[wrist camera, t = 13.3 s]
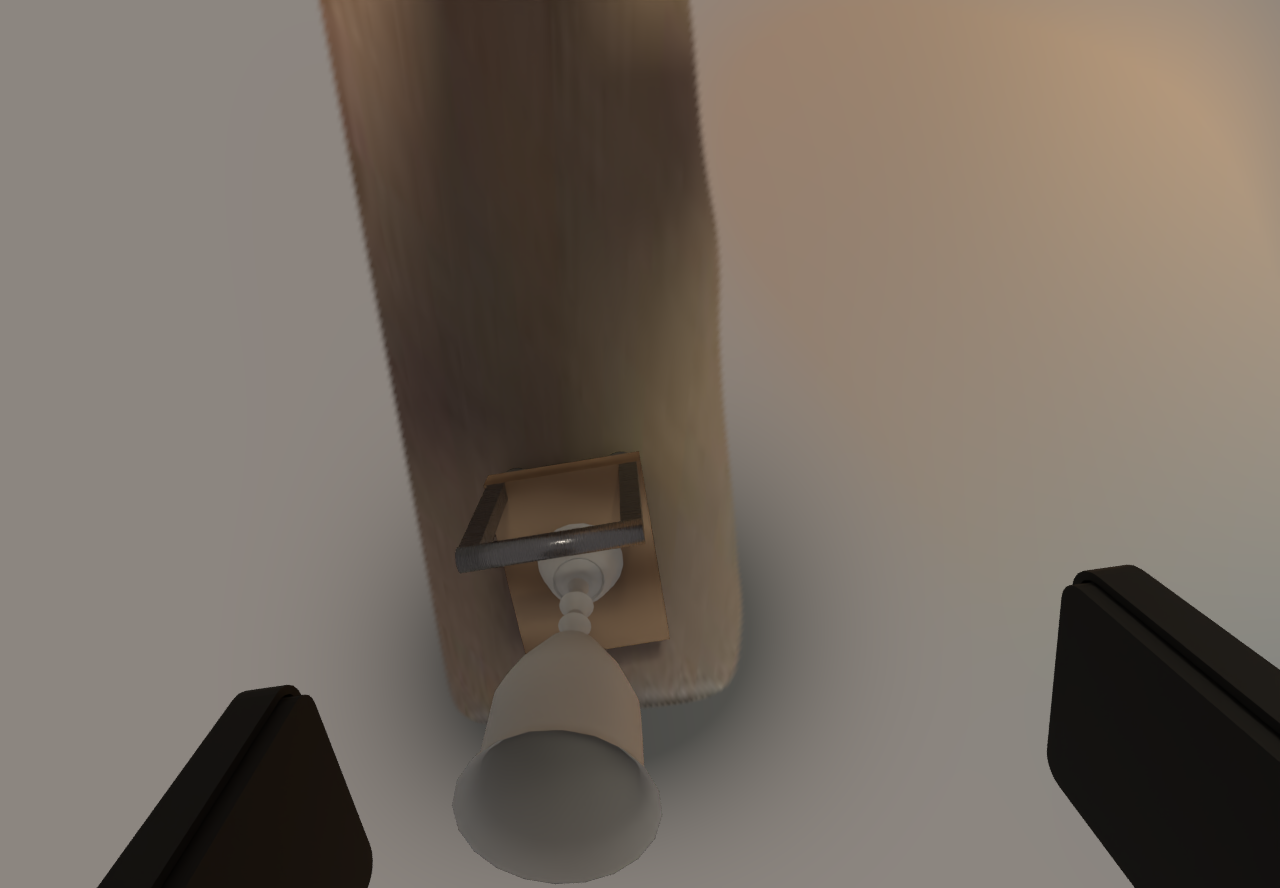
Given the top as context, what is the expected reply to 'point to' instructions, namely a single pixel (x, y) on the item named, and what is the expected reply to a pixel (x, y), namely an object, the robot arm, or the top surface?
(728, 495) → the top surface
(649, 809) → the chalice
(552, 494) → the cart
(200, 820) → the robot arm
